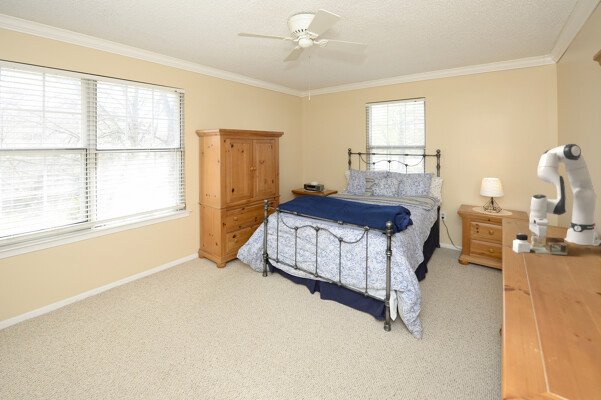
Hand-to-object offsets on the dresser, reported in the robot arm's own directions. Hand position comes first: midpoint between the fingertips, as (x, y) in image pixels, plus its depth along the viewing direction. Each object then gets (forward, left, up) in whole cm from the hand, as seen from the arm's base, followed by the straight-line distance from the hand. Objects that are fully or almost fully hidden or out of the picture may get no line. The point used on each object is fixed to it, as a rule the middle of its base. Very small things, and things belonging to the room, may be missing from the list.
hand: (536, 239), depth 201 cm
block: (0, 0, -4) cm, 4 cm away
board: (-1, +6, -7) cm, 9 cm away
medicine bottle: (+12, -3, -7) cm, 14 cm away
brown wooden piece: (+2, +12, -5) cm, 13 cm away
